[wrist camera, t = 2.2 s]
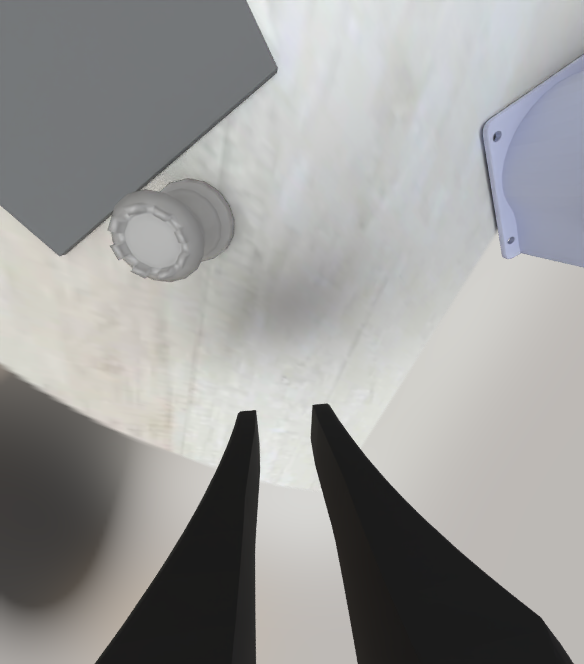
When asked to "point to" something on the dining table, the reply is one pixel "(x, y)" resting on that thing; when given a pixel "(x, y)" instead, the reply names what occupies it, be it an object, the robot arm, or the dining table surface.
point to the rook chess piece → (171, 229)
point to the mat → (112, 99)
